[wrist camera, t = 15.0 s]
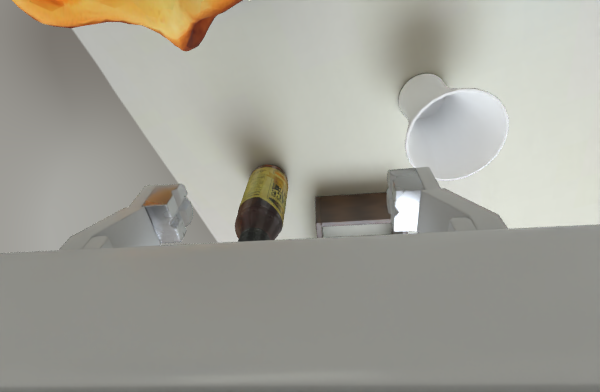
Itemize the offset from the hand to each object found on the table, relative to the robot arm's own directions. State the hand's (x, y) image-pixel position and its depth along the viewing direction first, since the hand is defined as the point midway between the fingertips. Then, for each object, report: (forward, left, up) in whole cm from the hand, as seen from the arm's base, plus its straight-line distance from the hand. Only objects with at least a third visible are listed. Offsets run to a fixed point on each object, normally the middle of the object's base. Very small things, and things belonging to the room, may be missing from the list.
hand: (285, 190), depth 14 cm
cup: (-15, +9, -36) cm, 40 cm away
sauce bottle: (+7, +20, -36) cm, 42 cm away
